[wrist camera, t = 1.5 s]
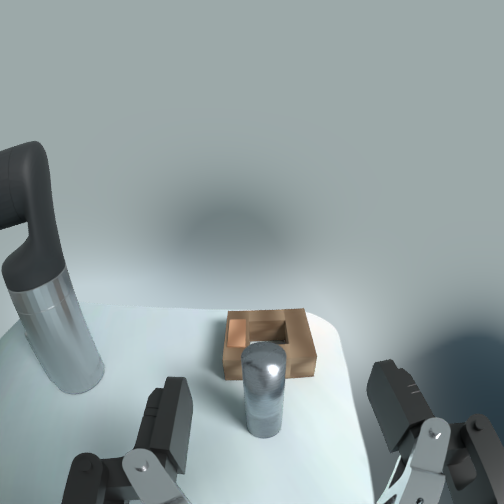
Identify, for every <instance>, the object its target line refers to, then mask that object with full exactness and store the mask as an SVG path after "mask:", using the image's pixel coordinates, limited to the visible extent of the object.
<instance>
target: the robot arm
mask: <svg viewBox="0 0 504 504" xmlns="http://www.w3.org/2000/svg"><path fill="white" fill-rule="evenodd" d="M25 222H28V229H29V230H28V231H29V236H28V238H27V239H26V241H25V242H24V243H23V244H22V245H21V246H20V247H19V248H18V249H17V250H15V251H14V252H13V253H12V254H11V255H9V256H8V257H7V258H6V260H5V261H4V263H3V265H2V275H3V278H4V281H5V283H6V286H7V289H8V291H9V294H10V296H11V299H12V301H13V304H14V306H15V308H16V311H17V313H18V315H19V317H20V320H21V322H22V324H23V326H24V328H25V330H26V331H25V336H26V338H27V340H28V342H29V344H30V346H31V348H32V350H33V351H34V353H35V355H36V357H37V359H38V360H39V362H40V364H41V365H42V367H43V369H44V370H45V372H46V374H47V375H48V377H49V379H50V380H51V381H53V382H55V384H56V385H57V387H58V388H59V389H60V390H62V391H63V392H66V393H69V394H78V393H83V392H86V391H88V390H90V389H91V388H93V387H94V386H95V385H96V384H97V383H98V382H99V381H100V380H101V378H102V376H103V373H104V364H103V361H102V359H101V357H100V355H99V353H98V350H97V348H96V346H95V343H94V341H93V339H92V336H91V334H90V332H89V329H88V327H87V324H86V322H85V319H84V317H83V314H82V311H81V309H80V306H79V303H78V300H77V297H76V295H75V292H74V289H73V286H72V283H71V280H70V276H69V273H68V270H67V267H66V264H65V260H64V256H63V252H62V248H61V244H60V239H59V235H58V230H57V225H56V221H55V214H54V208H53V201H52V191H51V180H50V171H49V165H48V159H47V155H46V152H45V150H44V148H43V146H42V145H41V144H40V143H39V142H37V141H32V142H27V143H23V144H20V145H17V146H14V147H11V148H8V149H5V150H3V151H0V230H2V229H5V228H8V227H12V226H15V225H18V224H21V223H25ZM367 396H368V399H369V401H370V403H371V406H372V408H373V411H374V413H375V416H376V418H377V420H378V423H379V426H380V428H381V431H382V433H383V436H384V438H385V441H386V443H387V446H388V449H389V451H390V453H392V452H395V451H398V450H399V452H400V456H399V458H398V461H397V463H396V466H395V468H394V471H393V473H392V475H391V478H390V481H389V483H388V485H387V487H386V489H385V491H384V493H383V494H382V496H381V497H380V499H379V500H378V502H377V503H376V504H438V502H439V498H440V495H441V492H442V489H443V486H444V482H445V479H446V482H447V485H448V488H449V491H450V494H451V496H452V500H453V503H454V504H504V448H503V446H502V444H501V442H500V440H499V438H498V436H497V434H496V432H495V430H494V428H493V426H492V424H491V423H490V421H489V419H488V418H487V417H486V416H484V415H482V414H474V415H472V416H470V417H469V418H468V420H467V421H466V422H464V423H454V424H448V423H447V422H446V421H445V420H443V419H441V418H436V417H435V416H434V415H433V413H432V411H431V409H430V408H429V406H428V404H427V402H426V401H425V399H424V397H423V395H422V393H421V392H420V391H419V388H418V386H417V385H416V384H415V381H414V380H413V378H412V376H411V375H410V374H409V373H408V372H407V371H405V370H404V369H403V368H400V369H398V368H397V367H396V365H395V363H394V361H393V360H391V359H389V360H385V361H380V362H375V363H374V365H373V368H372V371H371V374H370V377H369V380H368V383H367ZM192 414H193V401H192V397H191V394H190V390H189V387H188V384H187V380H186V378H185V377H167V378H166V381H165V385H164V388H156V389H155V390H154V391H153V392H152V393H151V394H150V396H149V397H148V401H147V404H146V409H145V411H144V417H143V418H142V422H141V425H140V429H139V432H138V436H137V440H136V444H135V446H134V448H133V450H131V451H129V452H128V453H127V454H126V455H125V456H123V457H120V458H110V459H100V458H99V457H98V456H96V455H95V454H92V453H81V454H79V455H77V456H76V457H75V458H74V460H73V462H72V465H71V468H70V472H69V475H68V479H67V483H66V487H65V491H64V495H63V499H62V503H61V504H129V500H139V499H140V500H141V501H142V503H143V504H192V503H191V502H190V501H189V500H188V498H187V497H186V496H185V495H184V493H183V492H182V491H181V489H180V488H179V487H178V485H177V484H176V477H177V474H185V467H186V459H187V451H188V443H189V436H190V428H191V421H192ZM469 455H470V456H469ZM470 457H471V458H470ZM472 462H473V463H472ZM474 467H475V468H474ZM475 469H476V470H475ZM442 471H443V473H444V474H443V473H442Z"/></svg>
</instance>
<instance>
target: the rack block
mask: <svg viewBox="0 0 504 504" xmlns="http://www.w3.org/2000/svg"><path fill="white" fill-rule="evenodd" d="M274 340H284V341H285V344H278V345H279V346H281V347H282V348H283V349H284V350H285V352H286V356H287V358H286V374H285V379H287V378H301V377H312V376H314V372H315V366H316V359H317V354H316V351H315V347H314V343H313V339H312V335H311V332H310V328H309V324H308V321H307V317H306V313H305V310H304V308H302V309H284V310H283V309H282V310H255V311H228V316H227V324H226V333H225V342H224V351H223V360H222V361H223V368H224V374H225V380H243V376H242V364H241V354H242V352H243V350H244V349H245V348H246V347H248V346H249V345H250V341H274Z"/></svg>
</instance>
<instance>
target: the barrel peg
mask: <svg viewBox="0 0 504 504" xmlns="http://www.w3.org/2000/svg"><path fill="white" fill-rule="evenodd" d="M286 358H287V356H286V352H285V350H284V349H283V348H282V347H281V346H279V345H277V344H275V343H271V342H257V343H254V344H251V345H249V346H248V347H246V348H245V349H244V350H243V352H242V354H241V364H242V376H243V387H244V398H245V409H246V419H247V428H248V430H249V432H250V433H251V434H252V435H253V436H255V437H258V438H270V437H273V436H275V435H276V434H277V433H278V432H279V431H280V429H281V424H282V413H283V401H284V388H285V374H286Z"/></svg>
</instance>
